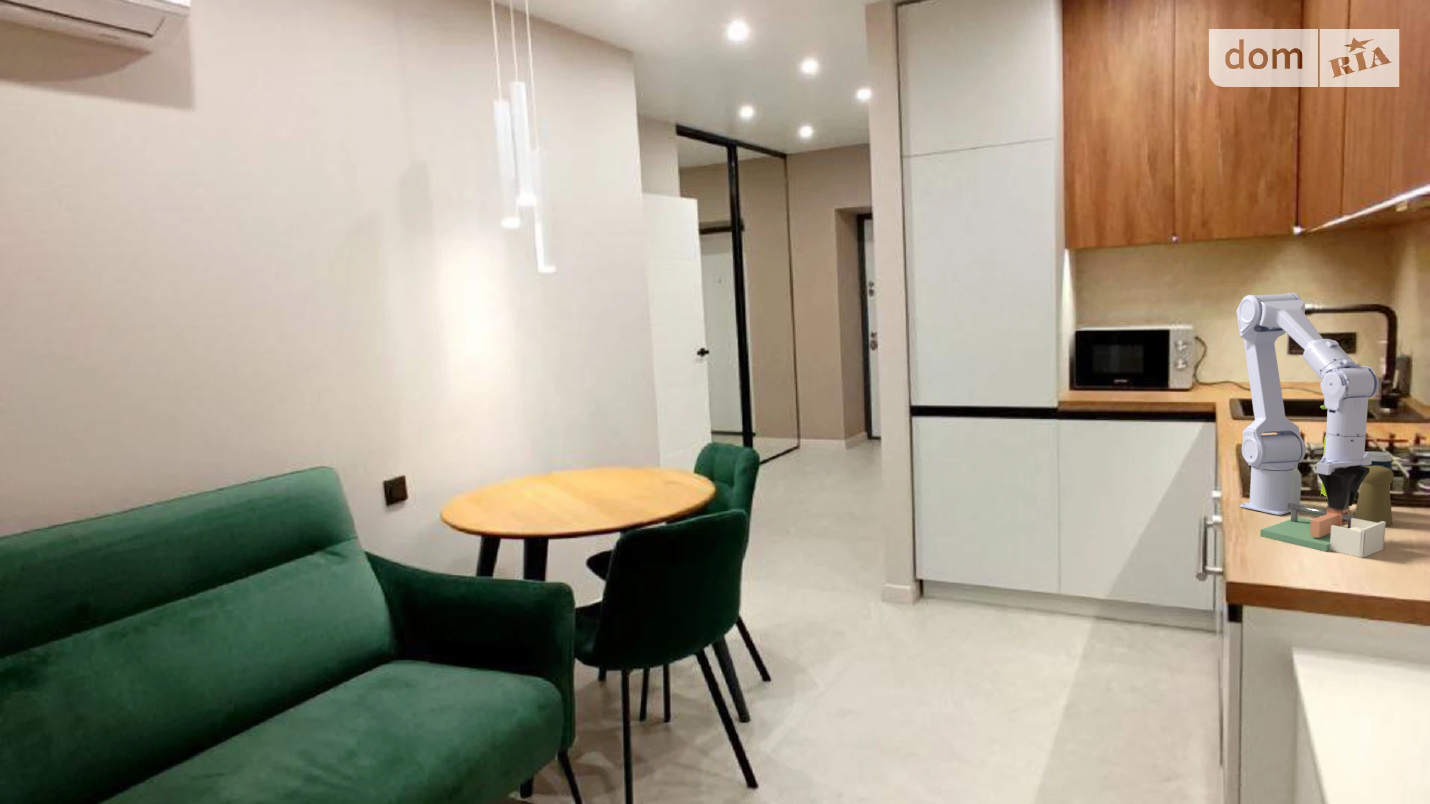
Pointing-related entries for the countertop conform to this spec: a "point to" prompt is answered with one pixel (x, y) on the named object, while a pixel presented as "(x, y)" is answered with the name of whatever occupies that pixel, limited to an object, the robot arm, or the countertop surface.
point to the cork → (1375, 496)
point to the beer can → (1379, 461)
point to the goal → (1358, 538)
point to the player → (1329, 520)
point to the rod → (1313, 512)
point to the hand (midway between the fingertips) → (1340, 506)
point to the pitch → (1297, 534)
